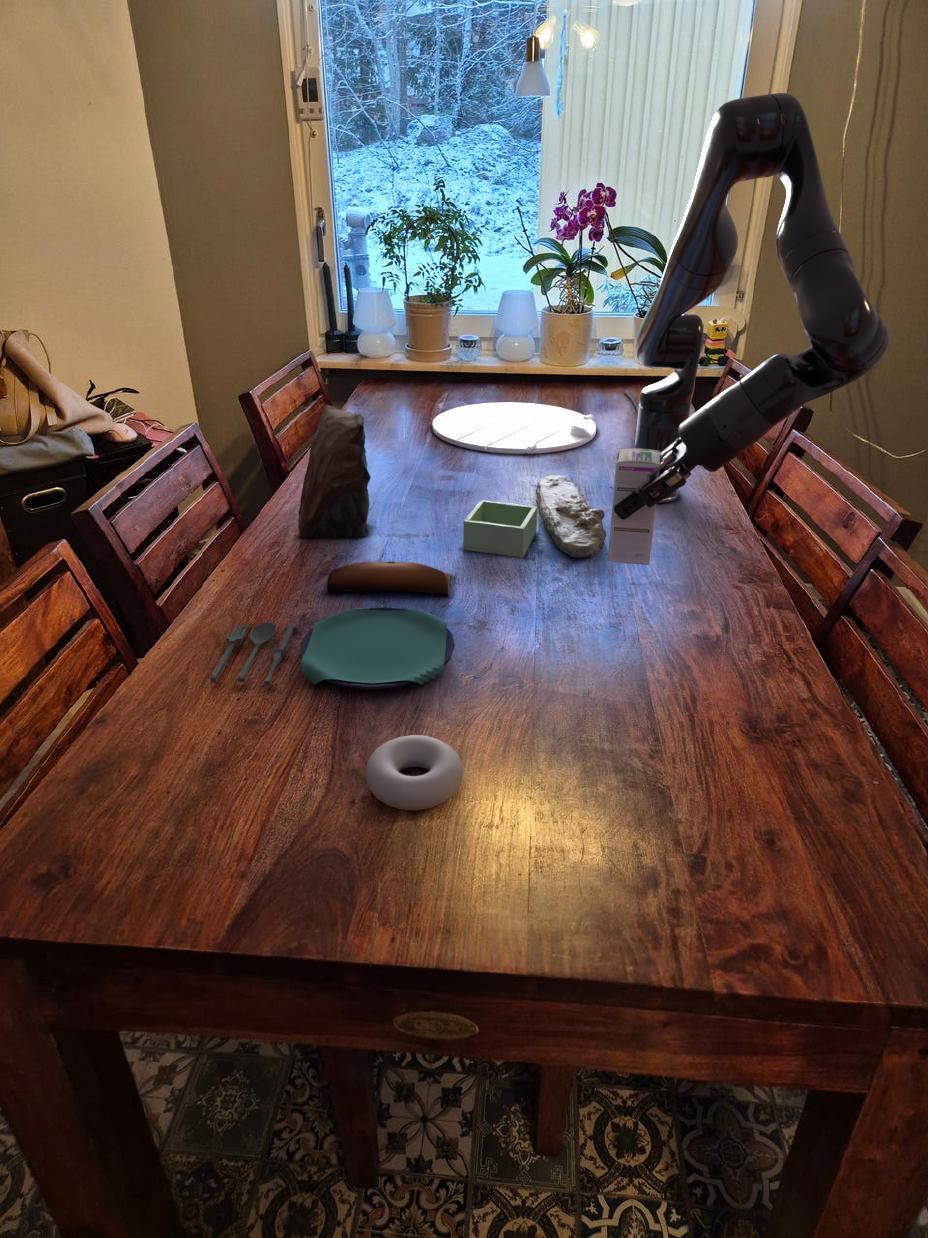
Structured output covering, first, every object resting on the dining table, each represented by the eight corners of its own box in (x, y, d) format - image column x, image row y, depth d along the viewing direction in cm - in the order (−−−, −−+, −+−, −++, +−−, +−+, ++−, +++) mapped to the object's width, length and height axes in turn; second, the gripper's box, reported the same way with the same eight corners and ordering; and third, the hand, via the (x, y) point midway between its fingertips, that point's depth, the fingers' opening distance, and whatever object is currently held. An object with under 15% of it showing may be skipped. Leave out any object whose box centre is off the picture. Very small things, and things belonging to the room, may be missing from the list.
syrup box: (650, 566, 111) (663, 463, 104) (606, 562, 112) (616, 460, 105) (650, 548, 116) (662, 449, 108) (608, 545, 117) (618, 446, 110)
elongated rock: (577, 493, 162) (527, 496, 162) (577, 467, 160) (526, 470, 159) (617, 559, 131) (555, 563, 130) (618, 528, 128) (555, 532, 128)
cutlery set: (452, 702, 97) (452, 685, 96) (201, 697, 97) (198, 681, 96) (456, 619, 114) (456, 605, 113) (243, 616, 115) (241, 602, 114)
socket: (479, 527, 144) (480, 499, 141) (536, 534, 141) (537, 506, 138) (463, 549, 135) (463, 521, 133) (522, 557, 133) (523, 528, 130)
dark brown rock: (323, 510, 149) (315, 401, 140) (389, 517, 147) (385, 406, 137) (295, 537, 139) (283, 421, 129) (365, 545, 136) (358, 427, 126)
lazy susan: (624, 422, 201) (626, 409, 200) (552, 465, 173) (553, 450, 171) (486, 399, 220) (486, 386, 218) (400, 434, 191) (399, 419, 189)
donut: (458, 752, 89) (366, 755, 88) (459, 726, 87) (365, 729, 87) (466, 816, 80) (364, 820, 80) (467, 789, 79) (363, 793, 78)
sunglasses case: (451, 571, 127) (450, 546, 121) (449, 610, 123) (448, 586, 117) (336, 568, 127) (329, 544, 121) (331, 607, 124) (324, 584, 118)
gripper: (709, 389, 107) (610, 467, 116) (704, 419, 95) (594, 503, 104) (744, 432, 108) (644, 506, 117) (744, 467, 96) (632, 546, 105)
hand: (621, 504), depth 110 cm, fingers closed on syrup box, 6 cm apart
